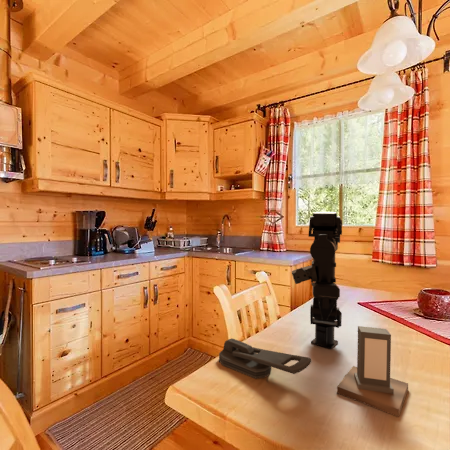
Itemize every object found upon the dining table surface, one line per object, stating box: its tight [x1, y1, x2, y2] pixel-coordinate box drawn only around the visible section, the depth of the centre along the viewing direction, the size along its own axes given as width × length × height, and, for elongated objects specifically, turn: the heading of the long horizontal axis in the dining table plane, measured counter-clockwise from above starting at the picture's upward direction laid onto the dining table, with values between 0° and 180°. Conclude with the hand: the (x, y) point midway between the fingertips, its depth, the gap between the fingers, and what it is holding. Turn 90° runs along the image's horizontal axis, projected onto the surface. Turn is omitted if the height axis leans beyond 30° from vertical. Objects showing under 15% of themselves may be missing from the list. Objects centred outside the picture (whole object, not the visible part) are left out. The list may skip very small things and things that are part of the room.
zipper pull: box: [218, 337, 312, 380], centre depth 73 cm, size 9×7×25 cm
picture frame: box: [354, 325, 394, 394], centre depth 65 cm, size 5×7×12 cm
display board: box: [336, 365, 409, 418], centre depth 65 cm, size 12×12×2 cm
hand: (323, 314), depth 78 cm, fingers open, 9 cm apart
